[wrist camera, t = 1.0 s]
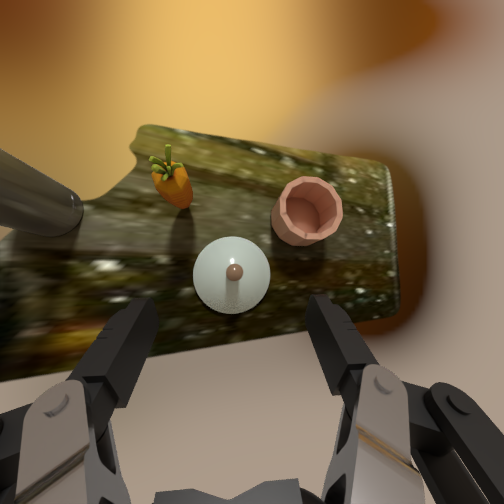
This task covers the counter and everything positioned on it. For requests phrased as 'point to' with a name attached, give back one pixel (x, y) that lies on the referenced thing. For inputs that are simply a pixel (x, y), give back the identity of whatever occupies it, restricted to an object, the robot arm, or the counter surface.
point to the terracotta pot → (306, 211)
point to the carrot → (172, 180)
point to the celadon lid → (231, 275)
